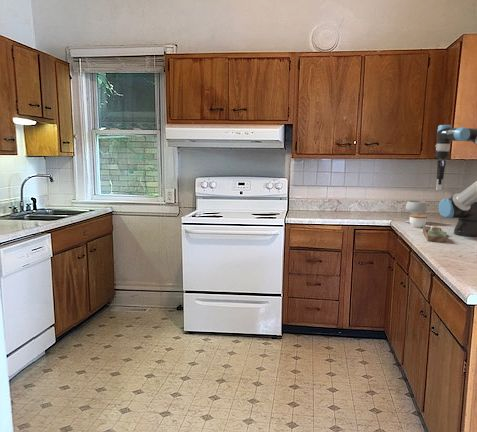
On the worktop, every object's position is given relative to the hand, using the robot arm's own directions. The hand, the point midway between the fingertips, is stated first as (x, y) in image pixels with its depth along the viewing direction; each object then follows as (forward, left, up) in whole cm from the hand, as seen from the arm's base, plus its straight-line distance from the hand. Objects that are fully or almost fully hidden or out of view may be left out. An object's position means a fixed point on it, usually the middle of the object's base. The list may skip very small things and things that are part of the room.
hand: (438, 189), depth 260 cm
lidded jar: (+9, -15, -27) cm, 32 cm away
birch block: (+3, +27, -23) cm, 36 cm away
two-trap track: (+3, +19, -26) cm, 33 cm away
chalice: (+9, -33, -27) cm, 43 cm away
